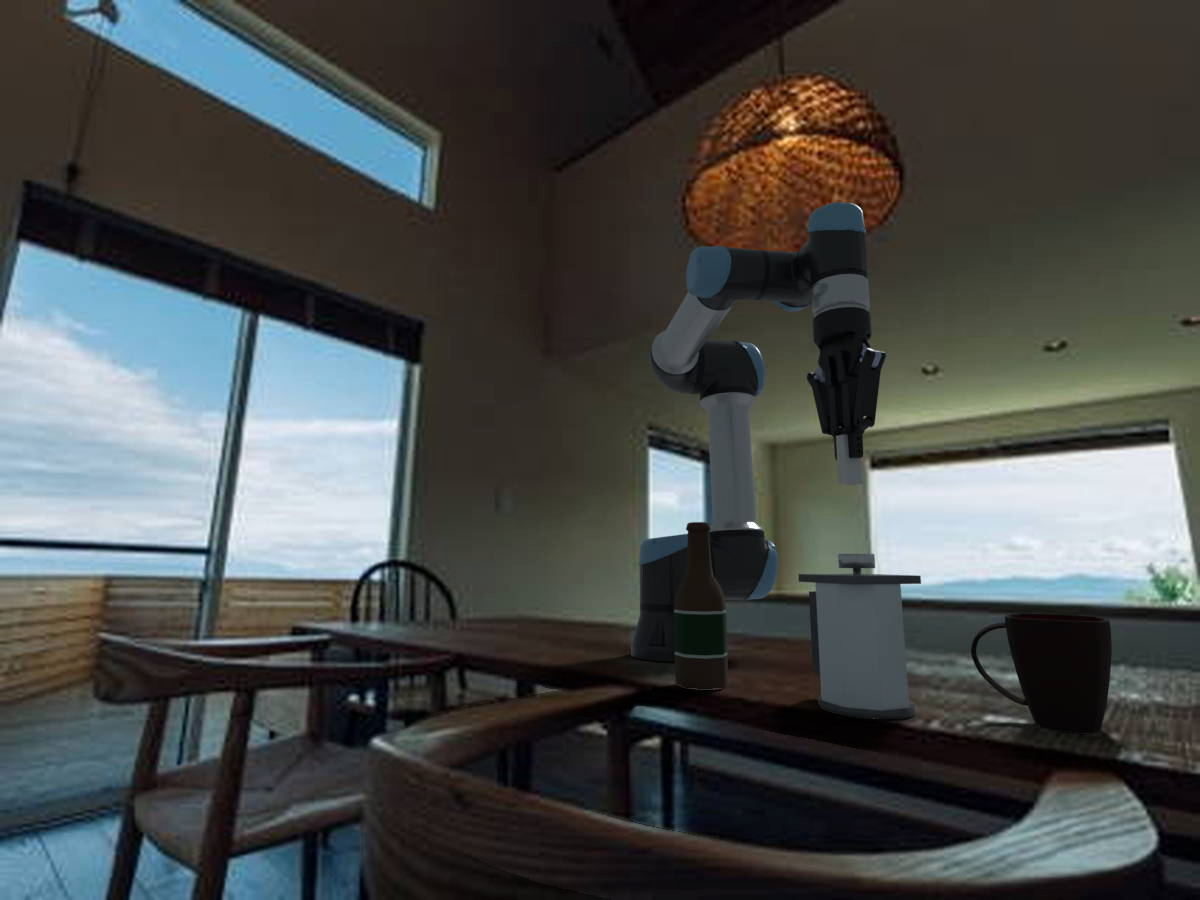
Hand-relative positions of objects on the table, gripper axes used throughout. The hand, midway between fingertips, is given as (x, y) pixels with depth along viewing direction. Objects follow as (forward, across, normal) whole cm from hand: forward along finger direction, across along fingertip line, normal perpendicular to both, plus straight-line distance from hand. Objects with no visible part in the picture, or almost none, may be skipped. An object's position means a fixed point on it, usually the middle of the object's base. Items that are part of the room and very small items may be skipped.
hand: (850, 483), depth 86 cm
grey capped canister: (+28, -1, 0) cm, 28 cm away
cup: (+29, +14, +14) cm, 34 cm away
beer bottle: (+29, -20, -12) cm, 37 cm away
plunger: (+18, 0, 0) cm, 18 cm away
